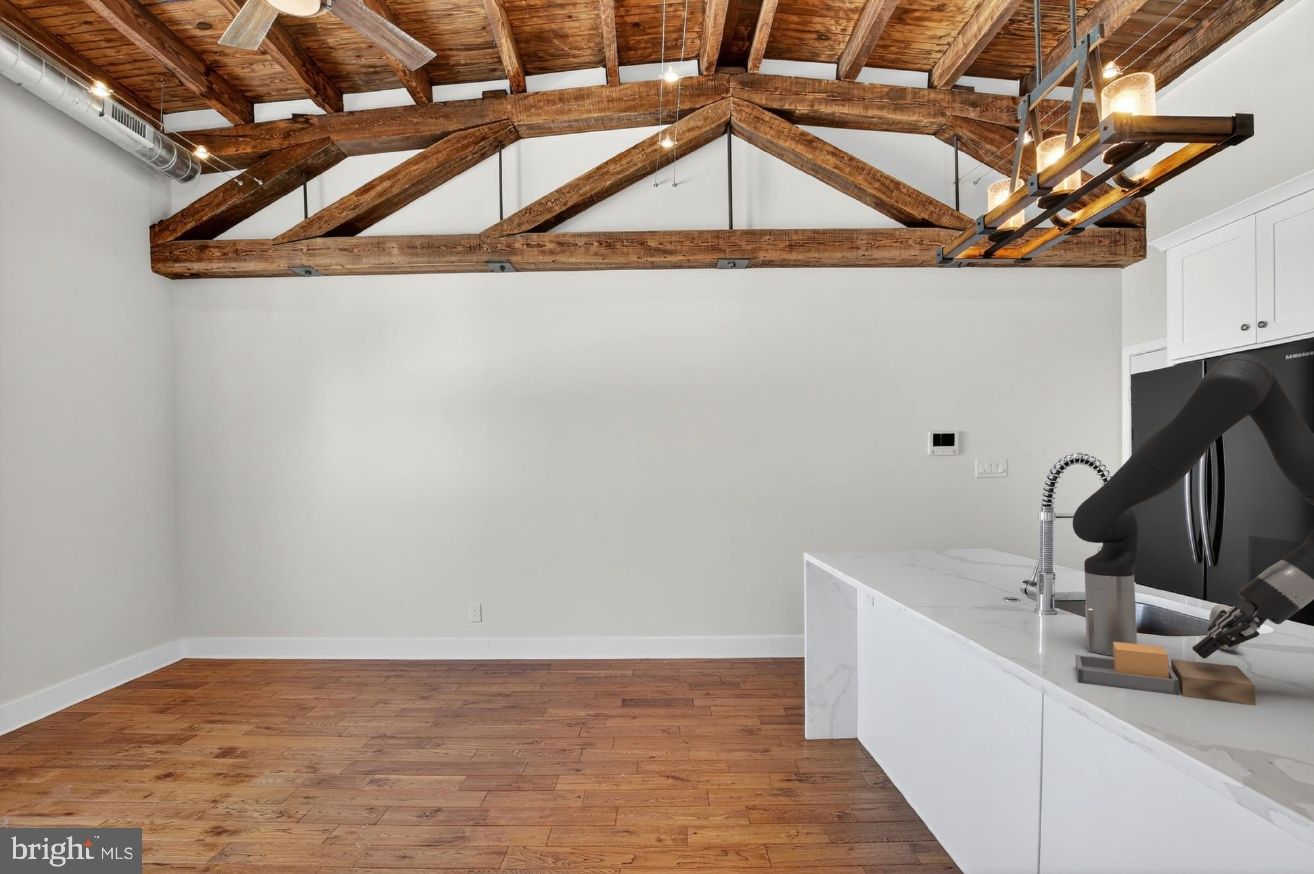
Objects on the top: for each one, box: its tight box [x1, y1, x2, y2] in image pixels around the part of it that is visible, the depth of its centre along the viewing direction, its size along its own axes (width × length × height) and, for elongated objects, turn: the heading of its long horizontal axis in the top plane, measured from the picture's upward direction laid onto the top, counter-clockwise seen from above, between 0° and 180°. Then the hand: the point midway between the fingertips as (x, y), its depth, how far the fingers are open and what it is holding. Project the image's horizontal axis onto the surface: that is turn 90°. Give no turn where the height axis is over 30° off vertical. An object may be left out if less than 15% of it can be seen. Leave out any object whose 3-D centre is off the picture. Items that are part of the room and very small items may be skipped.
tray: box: [1074, 654, 1181, 696], centre depth 131 cm, size 16×11×2 cm
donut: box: [1208, 603, 1241, 652], centre depth 150 cm, size 10×4×10 cm, turn 158°
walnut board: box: [1170, 658, 1256, 706], centre depth 125 cm, size 10×12×4 cm
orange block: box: [1113, 642, 1169, 679], centre depth 129 cm, size 6×6×8 cm
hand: (1197, 653), depth 125 cm, fingers closed
